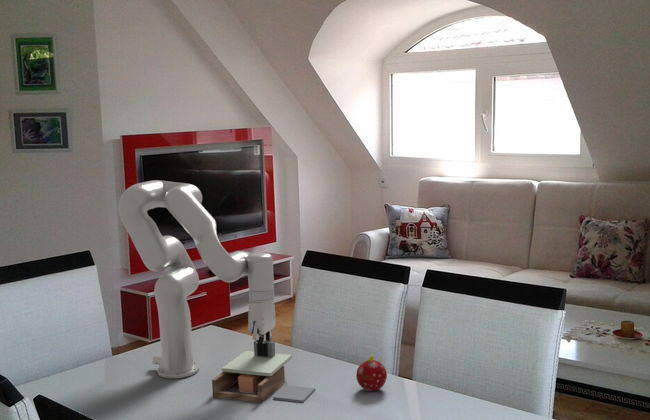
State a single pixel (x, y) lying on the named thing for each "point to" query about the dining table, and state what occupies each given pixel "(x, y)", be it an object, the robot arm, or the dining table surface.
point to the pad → (294, 393)
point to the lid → (258, 362)
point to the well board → (264, 392)
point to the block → (248, 383)
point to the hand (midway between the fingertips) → (264, 353)
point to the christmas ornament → (371, 375)
